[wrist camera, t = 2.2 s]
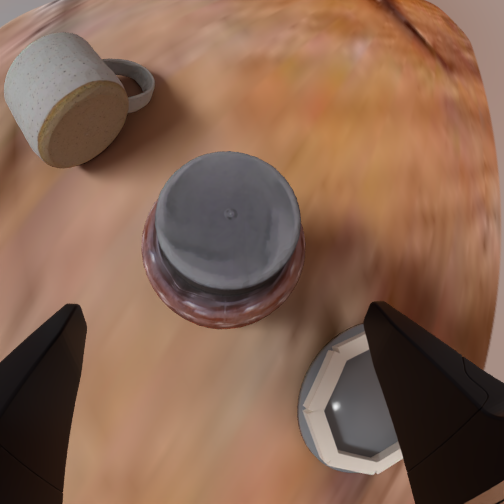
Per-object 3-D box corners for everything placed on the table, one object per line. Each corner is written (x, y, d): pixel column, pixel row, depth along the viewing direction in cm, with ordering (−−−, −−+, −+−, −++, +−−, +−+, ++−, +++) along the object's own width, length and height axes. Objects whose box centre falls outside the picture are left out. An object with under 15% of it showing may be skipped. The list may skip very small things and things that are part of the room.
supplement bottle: (256, 226, 20) (311, 117, 9) (274, 319, 19) (361, 305, 8) (162, 239, 19) (119, 135, 8) (176, 335, 18) (133, 346, 7)
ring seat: (394, 478, 17) (405, 485, 16) (268, 448, 17) (273, 458, 15) (449, 350, 20) (463, 350, 19) (339, 295, 20) (349, 292, 18)
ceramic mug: (64, 193, 19) (15, 132, 11) (25, 131, 19) (-13, 72, 12) (178, 108, 22) (176, 30, 14) (125, 61, 22) (114, -6, 15)
